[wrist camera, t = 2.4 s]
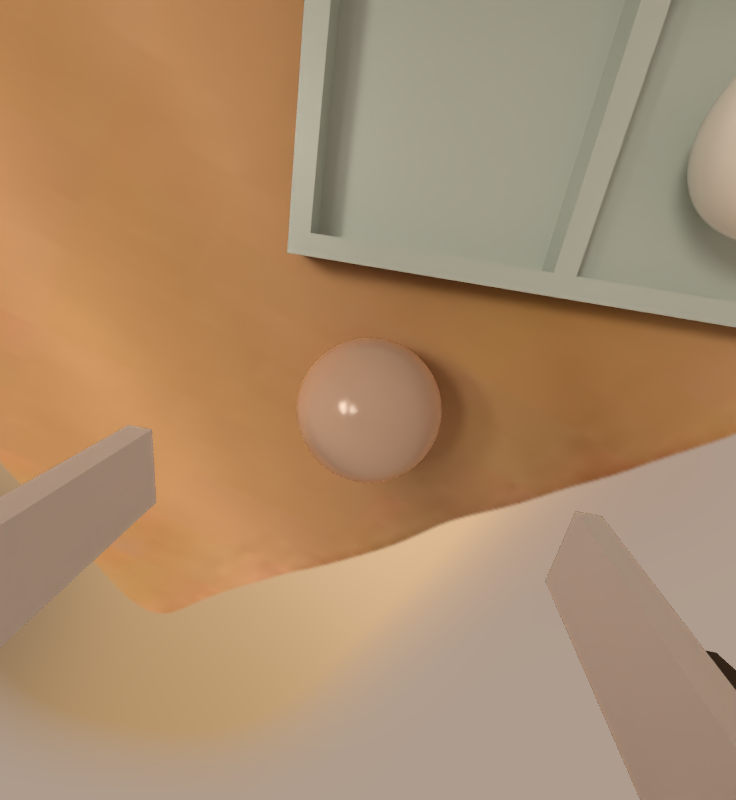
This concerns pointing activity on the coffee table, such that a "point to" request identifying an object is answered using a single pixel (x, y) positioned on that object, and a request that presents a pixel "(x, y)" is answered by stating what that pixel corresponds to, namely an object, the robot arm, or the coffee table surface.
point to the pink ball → (369, 410)
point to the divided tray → (516, 146)
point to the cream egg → (716, 165)
